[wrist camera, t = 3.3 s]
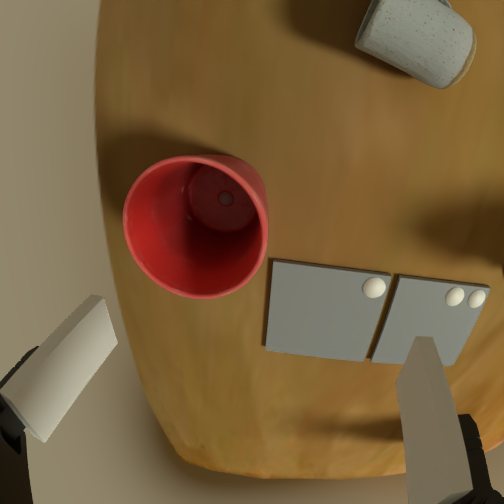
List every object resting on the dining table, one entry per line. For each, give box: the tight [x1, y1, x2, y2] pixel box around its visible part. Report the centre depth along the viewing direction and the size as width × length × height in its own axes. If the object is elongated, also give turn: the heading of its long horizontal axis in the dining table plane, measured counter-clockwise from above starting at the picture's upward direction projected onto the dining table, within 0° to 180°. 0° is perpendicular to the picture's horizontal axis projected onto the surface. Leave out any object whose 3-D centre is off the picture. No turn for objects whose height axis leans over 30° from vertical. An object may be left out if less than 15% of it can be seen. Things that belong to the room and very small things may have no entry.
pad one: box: [265, 259, 392, 362], centre depth 33 cm, size 12×12×1 cm
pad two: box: [371, 275, 491, 366], centre depth 31 cm, size 12×12×1 cm
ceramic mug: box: [355, 0, 477, 89], centre depth 16 cm, size 11×8×8 cm
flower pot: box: [122, 154, 269, 299], centre depth 25 cm, size 11×11×10 cm
